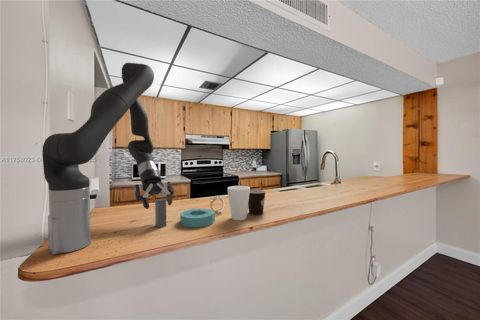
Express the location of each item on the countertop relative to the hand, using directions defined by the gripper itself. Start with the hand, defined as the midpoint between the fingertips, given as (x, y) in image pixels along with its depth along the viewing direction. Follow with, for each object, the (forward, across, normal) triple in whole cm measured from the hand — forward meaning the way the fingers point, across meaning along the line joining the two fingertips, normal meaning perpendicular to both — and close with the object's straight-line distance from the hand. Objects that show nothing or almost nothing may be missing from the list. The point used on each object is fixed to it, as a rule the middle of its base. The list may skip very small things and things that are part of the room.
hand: (159, 205), depth 79 cm
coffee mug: (+15, +41, -4) cm, 43 cm away
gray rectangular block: (+6, 0, +4) cm, 7 cm away
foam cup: (+15, +28, -4) cm, 33 cm away
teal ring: (+10, +13, +1) cm, 16 cm away
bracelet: (+6, +26, +5) cm, 27 cm away
